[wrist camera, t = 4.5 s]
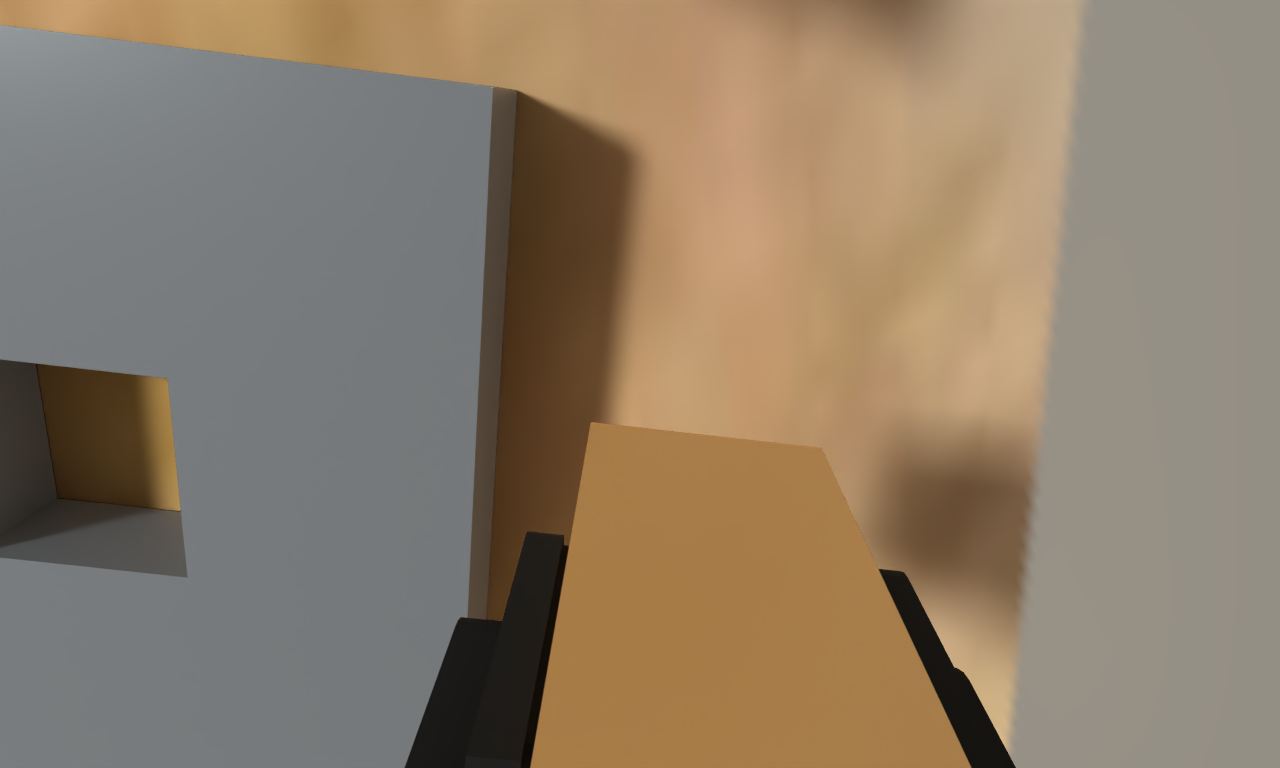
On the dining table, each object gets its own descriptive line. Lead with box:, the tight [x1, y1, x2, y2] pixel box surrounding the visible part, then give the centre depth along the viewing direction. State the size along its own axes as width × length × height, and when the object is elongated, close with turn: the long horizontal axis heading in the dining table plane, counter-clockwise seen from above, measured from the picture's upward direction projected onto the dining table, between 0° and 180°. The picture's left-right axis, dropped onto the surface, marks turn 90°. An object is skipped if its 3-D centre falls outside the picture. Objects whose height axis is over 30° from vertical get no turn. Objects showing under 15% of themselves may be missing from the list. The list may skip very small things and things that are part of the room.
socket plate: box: [0, 25, 517, 768], centre depth 20 cm, size 20×20×3 cm
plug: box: [530, 422, 971, 768], centre depth 9 cm, size 4×4×10 cm
